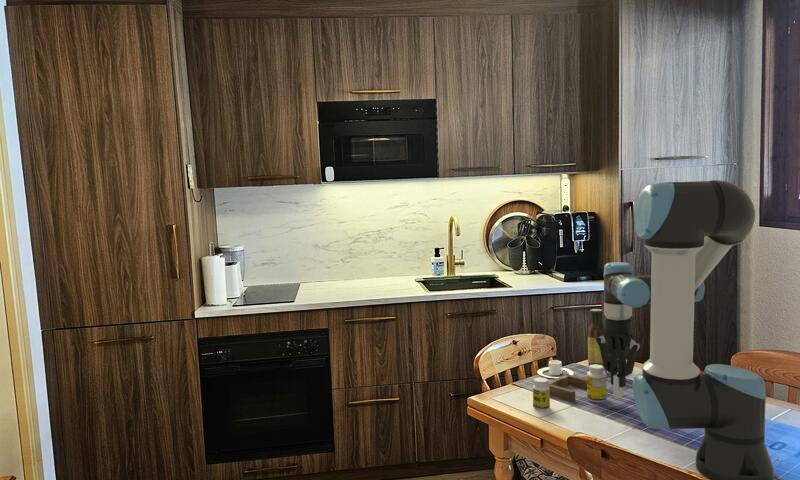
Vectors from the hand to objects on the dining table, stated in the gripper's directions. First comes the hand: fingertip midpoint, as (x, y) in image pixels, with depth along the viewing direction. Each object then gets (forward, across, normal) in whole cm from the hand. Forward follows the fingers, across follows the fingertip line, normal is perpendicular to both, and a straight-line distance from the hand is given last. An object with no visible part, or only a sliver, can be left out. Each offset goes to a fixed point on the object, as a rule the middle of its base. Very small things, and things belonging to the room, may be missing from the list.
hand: (618, 396), depth 176 cm
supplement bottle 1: (+3, +15, +16) cm, 22 cm away
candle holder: (+4, +30, -12) cm, 32 cm away
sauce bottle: (+3, +24, -28) cm, 37 cm away
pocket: (+3, +15, 0) cm, 16 cm away
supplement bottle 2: (+3, +7, 0) cm, 7 cm away
